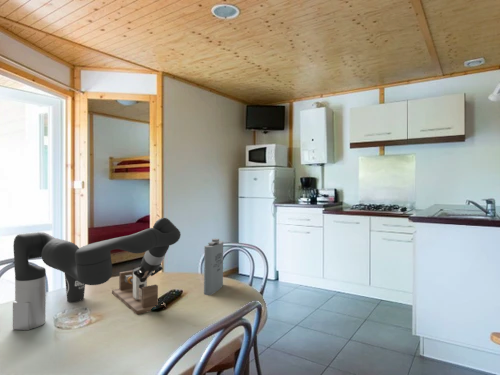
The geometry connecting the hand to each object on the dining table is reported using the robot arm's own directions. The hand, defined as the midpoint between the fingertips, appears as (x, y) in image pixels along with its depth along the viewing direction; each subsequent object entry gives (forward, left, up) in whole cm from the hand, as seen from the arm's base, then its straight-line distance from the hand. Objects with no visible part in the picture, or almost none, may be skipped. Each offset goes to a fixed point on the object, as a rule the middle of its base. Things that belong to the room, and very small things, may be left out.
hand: (142, 280), depth 140 cm
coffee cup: (+1, +31, -10) cm, 33 cm away
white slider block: (+2, +2, -8) cm, 8 cm away
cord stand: (+4, +4, -10) cm, 11 cm away
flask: (+23, -27, -10) cm, 37 cm away
